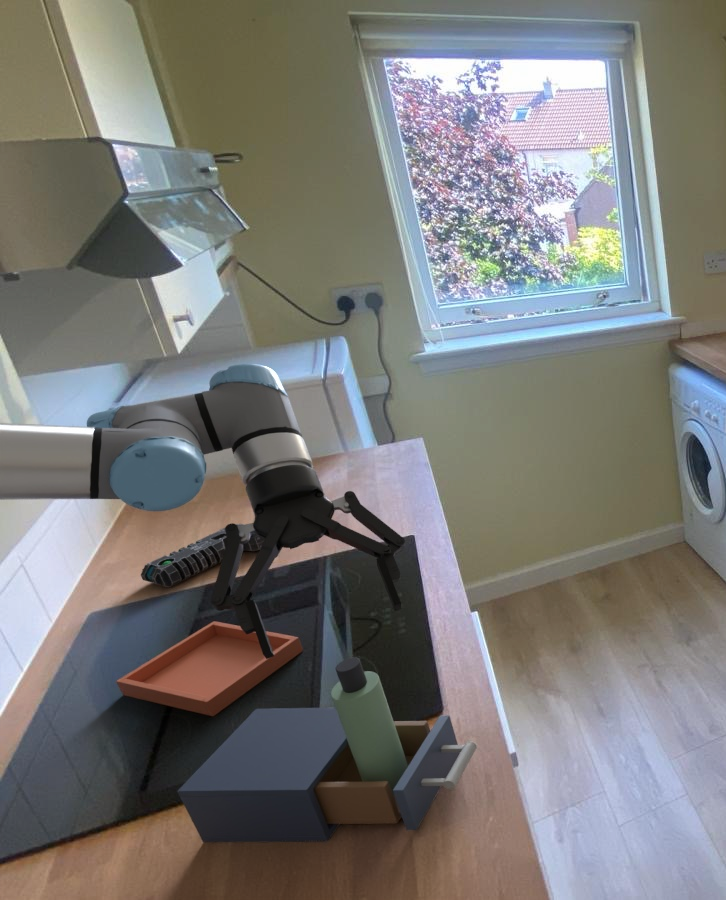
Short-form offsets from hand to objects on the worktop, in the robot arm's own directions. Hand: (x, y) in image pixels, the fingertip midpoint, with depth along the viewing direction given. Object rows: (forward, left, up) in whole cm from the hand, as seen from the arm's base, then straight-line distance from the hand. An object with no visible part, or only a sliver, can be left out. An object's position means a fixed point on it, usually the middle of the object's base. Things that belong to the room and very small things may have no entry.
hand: (336, 630), depth 87 cm
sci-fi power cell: (-73, +18, -20) cm, 78 cm away
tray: (-38, 0, -20) cm, 43 cm away
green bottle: (+8, -4, -18) cm, 20 cm away
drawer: (+9, -3, -19) cm, 21 cm away
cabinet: (-3, -9, -20) cm, 22 cm away
